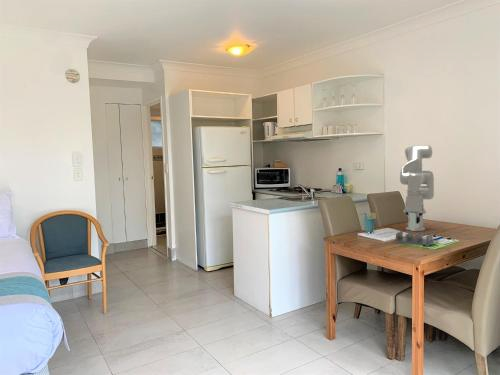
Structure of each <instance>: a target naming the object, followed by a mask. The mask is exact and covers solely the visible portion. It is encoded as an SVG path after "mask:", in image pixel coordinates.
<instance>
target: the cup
mask: <svg viewBox="0 0 500 375" xmlns="http://www.w3.org/2000/svg"><path fill="white" fill-rule="evenodd" d="M360 215H361V216H362V215H364V217H363V220H364V230H365V233H366V232H373V233H374V230H375V229H374V227H375V221H376V219H377V213H376V212H371V213H370V215H369V216H367V214H366V212H362V213H360Z"/></svg>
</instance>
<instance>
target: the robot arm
mask: <svg viewBox="0 0 500 375" xmlns="http://www.w3.org/2000/svg"><path fill="white" fill-rule="evenodd" d="M404 154H405V158H406V160H407V162H405V163H404V165H403V166H402V167H401V169H400V173H399V182H400V184H401V185H404V186H405V185H407V190H406V194H407V195H406V198H405V205H404V208H403V209H402V213H404V214H405V215H406V216H407V218H408V225H407V227H405V229H406V230H407V231H410V232H414V231H415V232H422V231H425V230H426V228H425V227H424V224H423V223H424V222H423V221H424V219H423V217H424V216H423V215H424V214H426V213H427V211H426V210H425V209H424V200H433V198H434V196H435V195H434V194H435V192H434V191H435V186H434V185H435V183H434V182H435V181H434V180H435V178H434V173H433V171H431V170H423V159H431V158H432V155H433V148H432V146H431V145H426V144H425V145H413V146H408V147H406V148H405V149H404ZM410 212H417V218H416V223H417V224H418V223H419V227H418V228H417V229H409V213H410Z"/></svg>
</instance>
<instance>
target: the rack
mask: <svg viewBox="0 0 500 375" xmlns="http://www.w3.org/2000/svg"><path fill="white" fill-rule="evenodd" d="M403 233H404V232H403V230H400V231H399V232H396V233H395V239H394V243H395V244H405V245H412V244H413V246H414V245H415V246H421V245H425V246H424V247H430V246H431V245H432V244H433V243H434V242H435V239H434V238H433V235H434V234H433V233H432V232H431V233H429V234H428V235H426V236H425V237H426V238H423V232H419V233H417V234H416V235H415V237H413V231H409V232H408V233H406V234H405V236H404V234H403ZM433 241H434V242H433ZM432 242H433V243H432ZM431 243H432V244H431ZM430 244H431V245H430ZM429 245H430V246H429Z"/></svg>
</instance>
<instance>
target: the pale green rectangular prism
mask: <svg viewBox="0 0 500 375" xmlns="http://www.w3.org/2000/svg"><path fill="white" fill-rule="evenodd" d="M416 218H417V212H410V213H409V229H417V228H418V227H419V223H418V224H417V223H416Z"/></svg>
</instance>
